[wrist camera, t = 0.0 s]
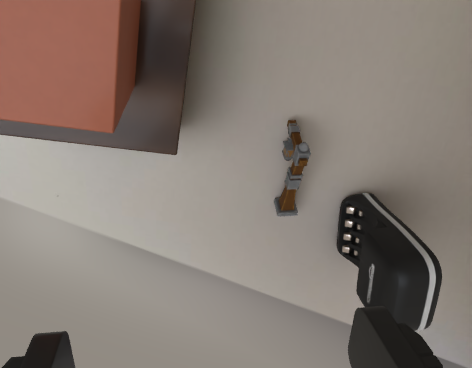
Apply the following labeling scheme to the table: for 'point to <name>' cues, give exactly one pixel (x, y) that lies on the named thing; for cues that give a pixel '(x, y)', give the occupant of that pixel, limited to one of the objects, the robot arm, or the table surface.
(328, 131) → the table surface
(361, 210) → the battery charger
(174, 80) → the storage box
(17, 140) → the table surface
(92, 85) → the small box
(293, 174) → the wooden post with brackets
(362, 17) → the table surface
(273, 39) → the table surface
